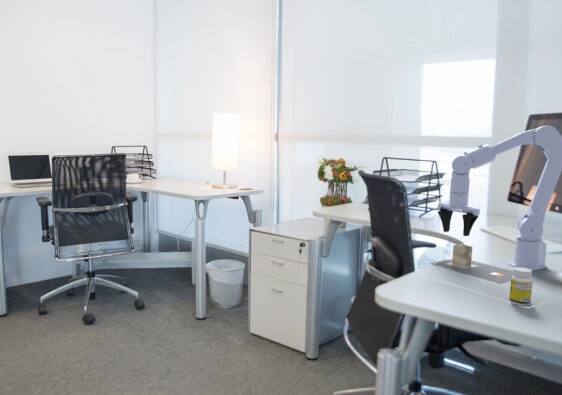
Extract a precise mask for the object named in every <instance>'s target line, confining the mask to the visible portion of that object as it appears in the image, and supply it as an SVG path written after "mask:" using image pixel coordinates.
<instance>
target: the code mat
mask: <svg viewBox="0 0 562 395" xmlns="http://www.w3.org/2000/svg"><path fill="white" fill-rule="evenodd" d="M440 261H441V262H440ZM440 261H436V262H431V263H429V265H432V266H435V267H436V266H437V267H440V268H444V269H447V270H450V271H454V272H458V273H461V274H466V275H468V276H473V277H476V278H478V279H483V280H486V281H491V282H493V283H496V284H500V285H501V284H505V283H509V282H510V283H511V278H512V276H513V275H514V274H513V271H514V270H510V269H507V268H503V267H502V268H501V267H497V266H495V265H490V264H487V263H484V262H483V263H482V262H479V261H475V260H472V259H471V266H466V267H461V266H457V265H453V264H452V258H450V259H447V260H440ZM435 263H436V264H435ZM433 264H434V265H433Z"/></svg>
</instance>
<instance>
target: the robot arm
mask: <svg viewBox="0 0 562 395" xmlns="http://www.w3.org/2000/svg"><path fill="white" fill-rule="evenodd" d="M522 145H523V146H524V145H528V146H529V145H535V146H537V147H538V148H539V149H540V150H541V151H542V153H543V155H544V156H545V157H546V162H545V165H544V168H543V170H542V173H541V175H540V178H539V181H538V182H537V185H536V188H535V191H534V193H533V196H532V199H531V200H530V203H529V206H528V208H527V210H526V211H525V214H524V216H523V217H521V218H520V220H519V221H518V223H517V227H518V231H519V232H520V233H519V234H518V235H516V238H515V249H514V250H515V251H514V260H513V262H510V263H508V264H507V265H509V266H512V267H514V268H516V267H521V268H527V269H530V270H532V272H534V271H537V270H541V269H546V268H548V265H546V256H547V244H546V242H545V241H544V240H543V238H542V236H543V234H544V226H543V225H544V223H545V218H546V212H547V209H548V207H549V204H550V202H551V199H552V196H553V194H554V191H555V188H556V186H557V183H558V181H559V180H560V176H561V173H562V134H561V133H560V132H559V131H558V129H557V128H556V127H554V126H552V125H543V126H539V127H537V128H533V129H529V130H526V131H523V132H520V133H518V134H516V135H514V136H512V137H510V138H507V139H505V140H502V141H501V142H498V143H496V144H494V145H490V144H484V145H483V144H479V145H477V146H478V147H477V148H475V149H473V150H470V151H465V152H464V153H463V155H458V156H457V157H456V158H455V157H454V159H453V161H452V162H451V168H452V172H451V178H450V188H449V189H450V190H449V200H448V201H449V202H448V203H443V202H441V203H440V202H438V203H437V210H438V211H437V213H438V216H439V218H440V221H441V224H442V228H443V229H442V230H443V232H444V233H449V232H450V228H451V221H452V216H453V213H454V212H456V213H460V214H461V213H462V216H461V217H462V220H463V221H462V222H463V233H462V236H463V237H468V236H470V235H471V231H472V228H473V226H474V224H475V222H476V221H477V219H478V218H479V216H480V214H481V213H480V212H481V208H476V207H471V206H469V196H470V195H469V193H470V182H471V181H470V171H471V169H478V168H480V167H482V166H485V165H487V164H489V163H492V162H494V161H495V159H496V157H497V155H501V154H502V153H505V152H507V151H510V150H513V149H515V148H518V147H520V146H522Z"/></svg>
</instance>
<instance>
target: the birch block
mask: <svg viewBox="0 0 562 395" xmlns="http://www.w3.org/2000/svg"><path fill="white" fill-rule="evenodd" d="M472 258H473V246H472V245H466V244H462V243H460V244H454V245H453V247H452V258H451V259H452V264H453V265H457V266H461V267H466V266H471V260H472Z"/></svg>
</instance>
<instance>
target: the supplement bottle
mask: <svg viewBox="0 0 562 395" xmlns="http://www.w3.org/2000/svg"><path fill="white" fill-rule="evenodd" d="M512 271H513V274H514V275H513V276H512V278H511V281H510V289H509V290H510V291H509V302H510V303H511V304H513V305H516V306H522V307H524V306H529V305H531V304H532V303H531V302H532V296H533V295H532V294H533V282H534V281H533V280H534V279H533V277H532V276H533V271H532V270H530V269H527V268H521V267H514V268H513V270H512Z"/></svg>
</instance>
